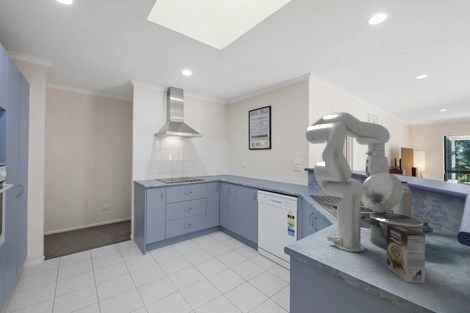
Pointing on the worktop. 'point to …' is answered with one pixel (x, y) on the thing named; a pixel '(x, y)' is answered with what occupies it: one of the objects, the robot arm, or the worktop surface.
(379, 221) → the pot
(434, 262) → the worktop surface
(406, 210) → the thermos bottle
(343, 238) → the robot arm
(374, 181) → the lid
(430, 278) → the worktop surface
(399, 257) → the coffee box
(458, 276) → the worktop surface
